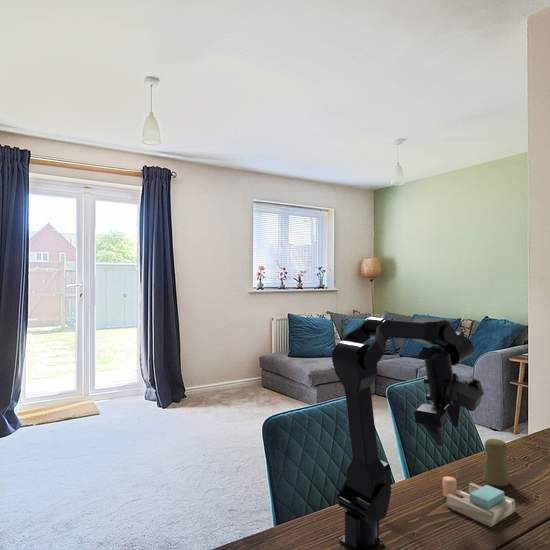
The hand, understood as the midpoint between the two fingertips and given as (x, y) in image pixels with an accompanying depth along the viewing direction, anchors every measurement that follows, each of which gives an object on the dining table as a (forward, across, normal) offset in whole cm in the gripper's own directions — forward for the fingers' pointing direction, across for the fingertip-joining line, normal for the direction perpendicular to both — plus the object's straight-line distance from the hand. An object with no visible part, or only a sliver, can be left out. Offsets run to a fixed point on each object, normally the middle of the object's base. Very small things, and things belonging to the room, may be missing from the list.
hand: (448, 435), depth 105 cm
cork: (+18, +12, -5) cm, 22 cm away
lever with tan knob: (+14, -4, -4) cm, 15 cm away
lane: (+15, -4, -7) cm, 17 cm away
